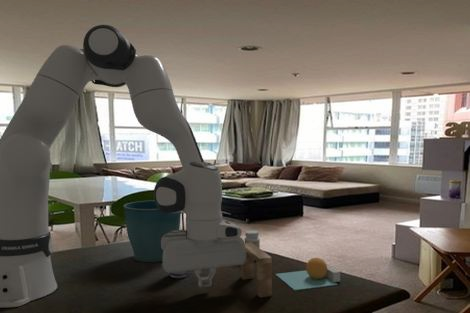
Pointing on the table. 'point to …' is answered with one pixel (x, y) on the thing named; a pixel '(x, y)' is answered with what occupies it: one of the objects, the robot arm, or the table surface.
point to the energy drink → (180, 273)
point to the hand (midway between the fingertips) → (205, 285)
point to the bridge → (258, 269)
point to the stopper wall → (332, 274)
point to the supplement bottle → (252, 238)
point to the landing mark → (304, 280)
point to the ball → (316, 268)
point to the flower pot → (148, 229)
